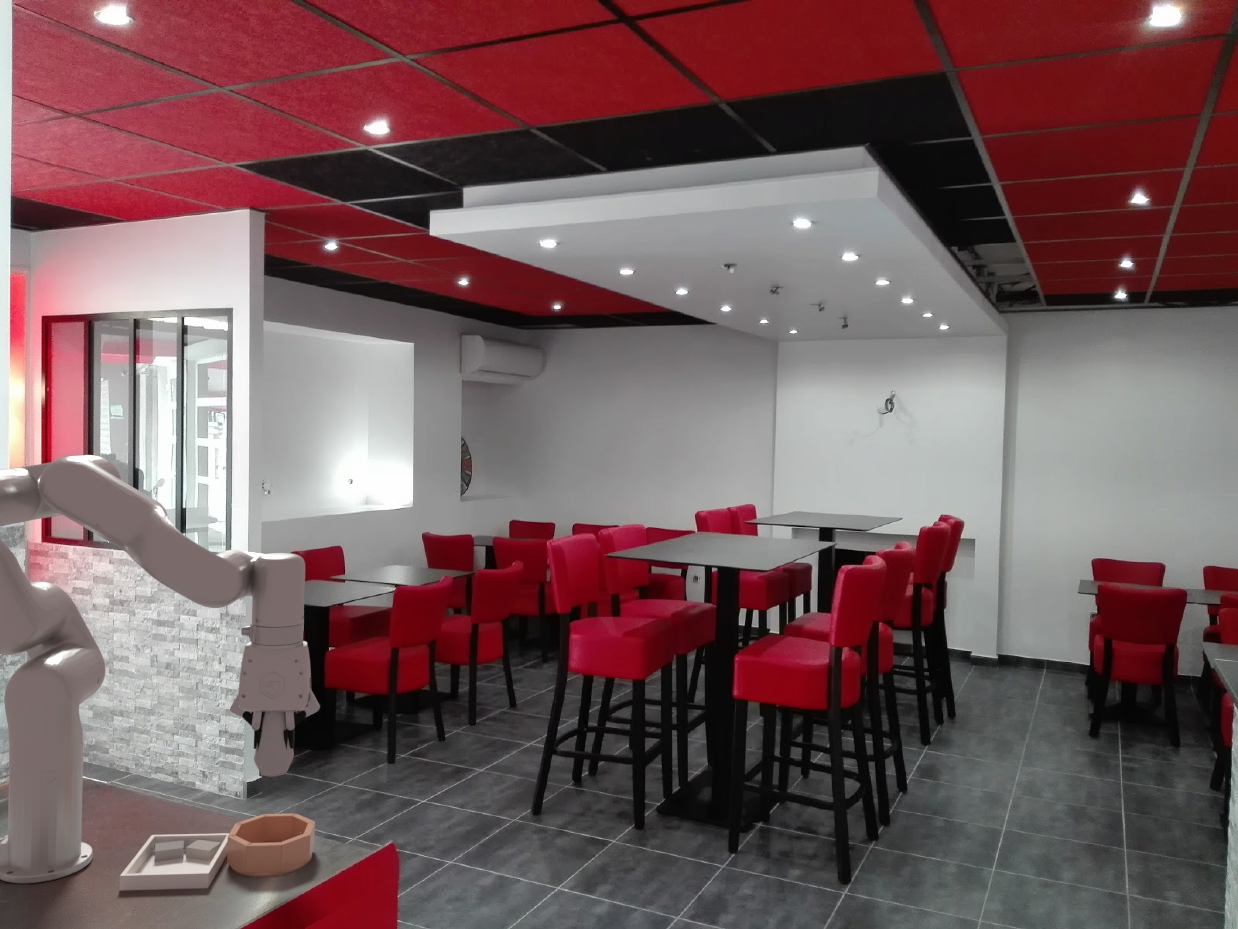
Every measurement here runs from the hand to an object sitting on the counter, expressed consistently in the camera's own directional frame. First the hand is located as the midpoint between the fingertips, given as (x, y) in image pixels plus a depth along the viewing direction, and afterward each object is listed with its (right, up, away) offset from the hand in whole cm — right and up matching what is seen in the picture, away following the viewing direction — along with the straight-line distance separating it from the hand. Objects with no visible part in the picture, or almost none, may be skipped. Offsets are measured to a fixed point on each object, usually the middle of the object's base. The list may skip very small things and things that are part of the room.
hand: (274, 752), depth 150 cm
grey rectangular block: (-16, -16, 0) cm, 23 cm away
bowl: (-1, -17, +1) cm, 17 cm away
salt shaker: (0, -3, 0) cm, 3 cm away
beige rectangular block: (-11, -16, +1) cm, 20 cm away
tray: (-13, -16, -3) cm, 21 cm away
